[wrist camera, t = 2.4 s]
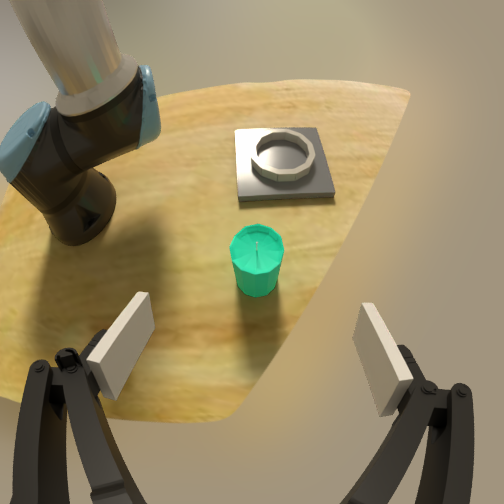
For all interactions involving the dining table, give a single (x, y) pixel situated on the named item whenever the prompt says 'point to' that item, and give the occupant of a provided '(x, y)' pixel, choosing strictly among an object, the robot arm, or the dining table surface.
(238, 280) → the candle
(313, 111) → the dining table surface
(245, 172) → the candle stand
